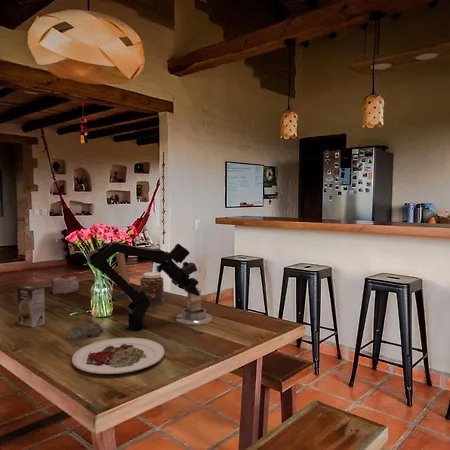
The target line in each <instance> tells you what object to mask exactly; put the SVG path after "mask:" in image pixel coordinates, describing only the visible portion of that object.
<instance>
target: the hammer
mask: <svg viewBox="0 0 450 450" xmlns="http://www.w3.org/2000/svg"><path fill="white" fill-rule="evenodd" d="M115 256H116V262H117V266H118V267H117V268H118V271H119V272H118V273H119V275H120V276H121V277H122V278H123V279H124V280H125V281H126V282H127V283H128V284H129V285H130V286H131V282H130V277H129V272H128V268H127V263H126V258H125V254H123V253H118V254H117V255H116V254H115ZM132 288H133V289H135V290H137V289H138V288H139V289H140V286H134V287H132ZM111 294H112V298H113V299H112V298H111V299H112V300H114V301H122V300H127V299H128V300H130V299H129V298H128V296H127V295H126V294H125V293H124V292H123V291H122V290H121V291H119V292H115V293H111Z"/></svg>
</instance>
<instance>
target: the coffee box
mask: <svg viewBox="0 0 450 450" xmlns="http://www.w3.org/2000/svg"><path fill="white" fill-rule="evenodd" d="M17 303H18V305H17V307H18V310H17V311H18V313H17V315H18V325H21V326H24V327H27V328H28V327H29V328H35V327H38V326H42V325H45V322H46V321H45V318H46V317H45V314H46V313H45V286H42V285H35V284H31V283H30V284H25V285H21V286H19V285H18V286H17Z"/></svg>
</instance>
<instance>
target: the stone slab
mask: <svg viewBox="0 0 450 450" xmlns="http://www.w3.org/2000/svg"><path fill="white" fill-rule="evenodd" d="M103 331H104V329H103V327H102V326H101V325H100V324H99V323H97V322H95V321H94V320H91V321H88V322H84V323H81V324H77V325H76V326H73V327H71V328H70V329H69V333H67V335H66V336H67V337H65V338H66V341H76V340H83V339H88V338H89V337H90V338H91V339H92V338H98V337H101V333H102V332H103ZM75 339H76V340H75Z"/></svg>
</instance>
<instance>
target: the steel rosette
mask: <svg viewBox="0 0 450 450" xmlns="http://www.w3.org/2000/svg"><path fill="white" fill-rule="evenodd" d="M175 321H176V322H177V323H178V324H180V325H185V326H201V325H206V324H209V323H211V322H212V321H213V315H211V314H210V313H207V310H206V309H205V308H203V307H201V310H195V311H191V310H189V309H188V307H187V308H186V307H185V308H184V309H182V313H180V314H178V315H176V317H175Z"/></svg>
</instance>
